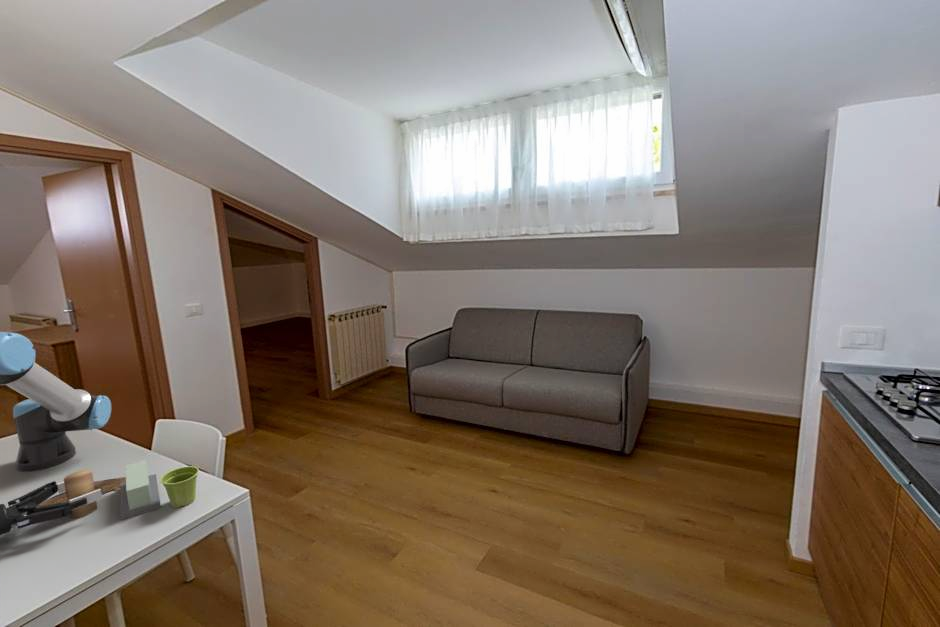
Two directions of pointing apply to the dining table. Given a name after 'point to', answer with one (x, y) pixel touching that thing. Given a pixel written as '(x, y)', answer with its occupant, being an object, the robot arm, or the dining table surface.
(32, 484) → the dining table surface
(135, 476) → the block
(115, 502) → the dining table surface
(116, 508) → the dining table surface
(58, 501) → the wooden fragment
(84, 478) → the tan wooden cylinder
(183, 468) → the plant pot
